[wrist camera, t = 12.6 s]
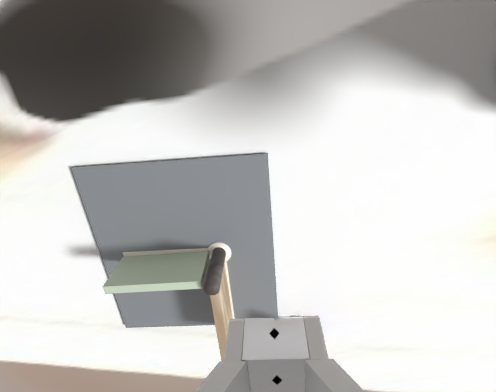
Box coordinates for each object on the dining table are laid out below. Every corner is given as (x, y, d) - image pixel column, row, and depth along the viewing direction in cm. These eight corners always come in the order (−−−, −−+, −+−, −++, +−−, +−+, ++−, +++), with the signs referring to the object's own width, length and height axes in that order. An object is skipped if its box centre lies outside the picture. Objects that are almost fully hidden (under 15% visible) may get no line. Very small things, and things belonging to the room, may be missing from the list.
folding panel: (208, 251, 46) (200, 281, 40) (209, 258, 46) (201, 288, 41) (122, 256, 47) (102, 286, 41) (124, 263, 47) (105, 293, 42)
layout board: (267, 153, 40) (267, 154, 40) (278, 320, 52) (278, 323, 52) (73, 166, 42) (70, 168, 42) (127, 324, 54) (125, 328, 54)
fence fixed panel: (225, 246, 46) (218, 282, 39) (236, 324, 52) (232, 367, 45) (211, 247, 46) (202, 283, 39) (224, 324, 53) (218, 367, 46)
